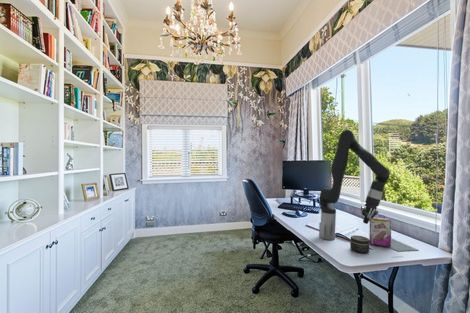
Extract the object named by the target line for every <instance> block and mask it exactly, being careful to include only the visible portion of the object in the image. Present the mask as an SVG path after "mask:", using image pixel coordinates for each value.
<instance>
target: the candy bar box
mask: <svg viewBox="0 0 470 313" xmlns="http://www.w3.org/2000/svg"><path fill="white" fill-rule="evenodd" d="M391 221H392V219H389V218H385V219H384V217H383V218H379V217H375V216H374V217H373V218H370V219H369V238H368V239H369V240H370V245H375V246H381V247H386V248H389V247H391V239H392V225H391Z"/></svg>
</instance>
